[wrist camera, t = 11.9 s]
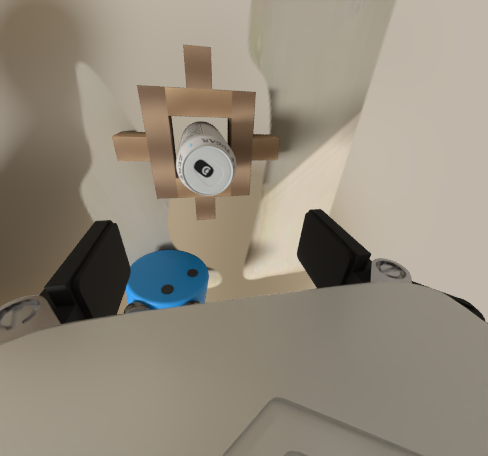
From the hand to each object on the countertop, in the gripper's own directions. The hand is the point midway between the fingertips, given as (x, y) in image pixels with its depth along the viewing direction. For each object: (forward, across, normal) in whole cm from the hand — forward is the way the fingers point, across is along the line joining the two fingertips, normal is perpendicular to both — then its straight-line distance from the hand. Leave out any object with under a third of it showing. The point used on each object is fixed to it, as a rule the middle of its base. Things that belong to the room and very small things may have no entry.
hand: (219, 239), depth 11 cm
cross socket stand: (+26, 0, 0) cm, 26 cm away
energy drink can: (+26, 0, 0) cm, 26 cm away
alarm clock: (+26, +7, +22) cm, 35 cm away
